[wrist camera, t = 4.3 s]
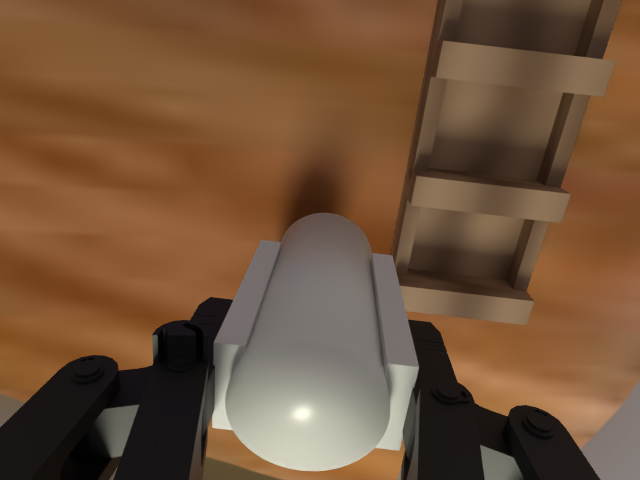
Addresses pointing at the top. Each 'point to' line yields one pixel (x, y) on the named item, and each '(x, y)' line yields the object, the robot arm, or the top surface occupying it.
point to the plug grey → (314, 354)
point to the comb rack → (494, 149)
